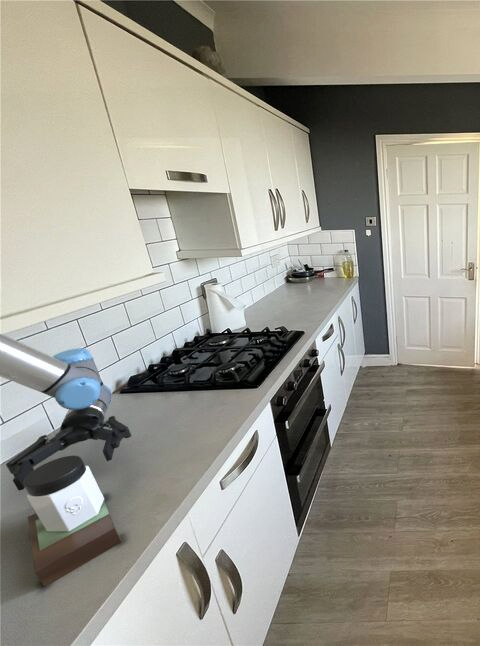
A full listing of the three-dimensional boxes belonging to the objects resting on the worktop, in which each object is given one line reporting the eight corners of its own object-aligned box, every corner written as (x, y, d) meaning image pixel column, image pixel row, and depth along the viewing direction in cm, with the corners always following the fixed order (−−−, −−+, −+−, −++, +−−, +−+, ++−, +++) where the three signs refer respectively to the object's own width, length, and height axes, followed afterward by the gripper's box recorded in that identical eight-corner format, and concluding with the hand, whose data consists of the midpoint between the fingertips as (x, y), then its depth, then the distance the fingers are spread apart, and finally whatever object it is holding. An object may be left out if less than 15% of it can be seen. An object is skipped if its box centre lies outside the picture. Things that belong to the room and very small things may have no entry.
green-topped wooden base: (38, 533, 74) (27, 515, 72) (105, 499, 82) (97, 483, 80) (46, 590, 63) (34, 571, 61) (123, 545, 71) (114, 527, 69)
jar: (54, 541, 66) (26, 494, 62) (41, 523, 70) (14, 477, 66) (112, 507, 74) (90, 462, 69) (97, 491, 78) (76, 448, 73)
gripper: (149, 414, 97) (144, 458, 81) (21, 451, 84) (-15, 513, 68) (140, 391, 95) (133, 431, 78) (7, 426, 82) (-35, 483, 65)
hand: (64, 469), depth 73 cm, fingers open, 13 cm apart
